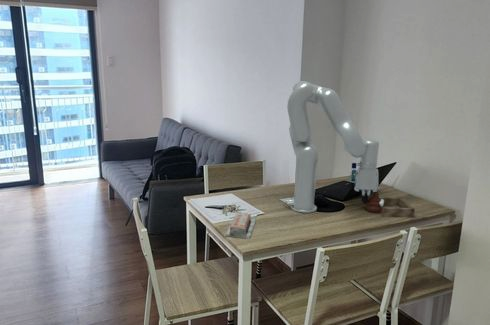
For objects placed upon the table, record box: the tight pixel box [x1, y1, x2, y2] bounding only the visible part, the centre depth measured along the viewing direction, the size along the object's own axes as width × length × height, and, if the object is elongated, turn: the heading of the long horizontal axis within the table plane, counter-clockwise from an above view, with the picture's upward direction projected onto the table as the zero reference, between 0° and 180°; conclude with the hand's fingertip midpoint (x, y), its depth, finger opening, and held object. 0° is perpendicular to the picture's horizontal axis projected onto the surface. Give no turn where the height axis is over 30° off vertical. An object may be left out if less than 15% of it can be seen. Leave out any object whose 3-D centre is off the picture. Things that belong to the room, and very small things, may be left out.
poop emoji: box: [364, 190, 385, 214], centre depth 195 cm, size 10×8×9 cm
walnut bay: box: [379, 196, 415, 219], centre depth 196 cm, size 14×17×4 cm
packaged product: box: [225, 212, 256, 239], centre depth 169 cm, size 18×5×10 cm
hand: (364, 202), depth 195 cm, fingers closed
